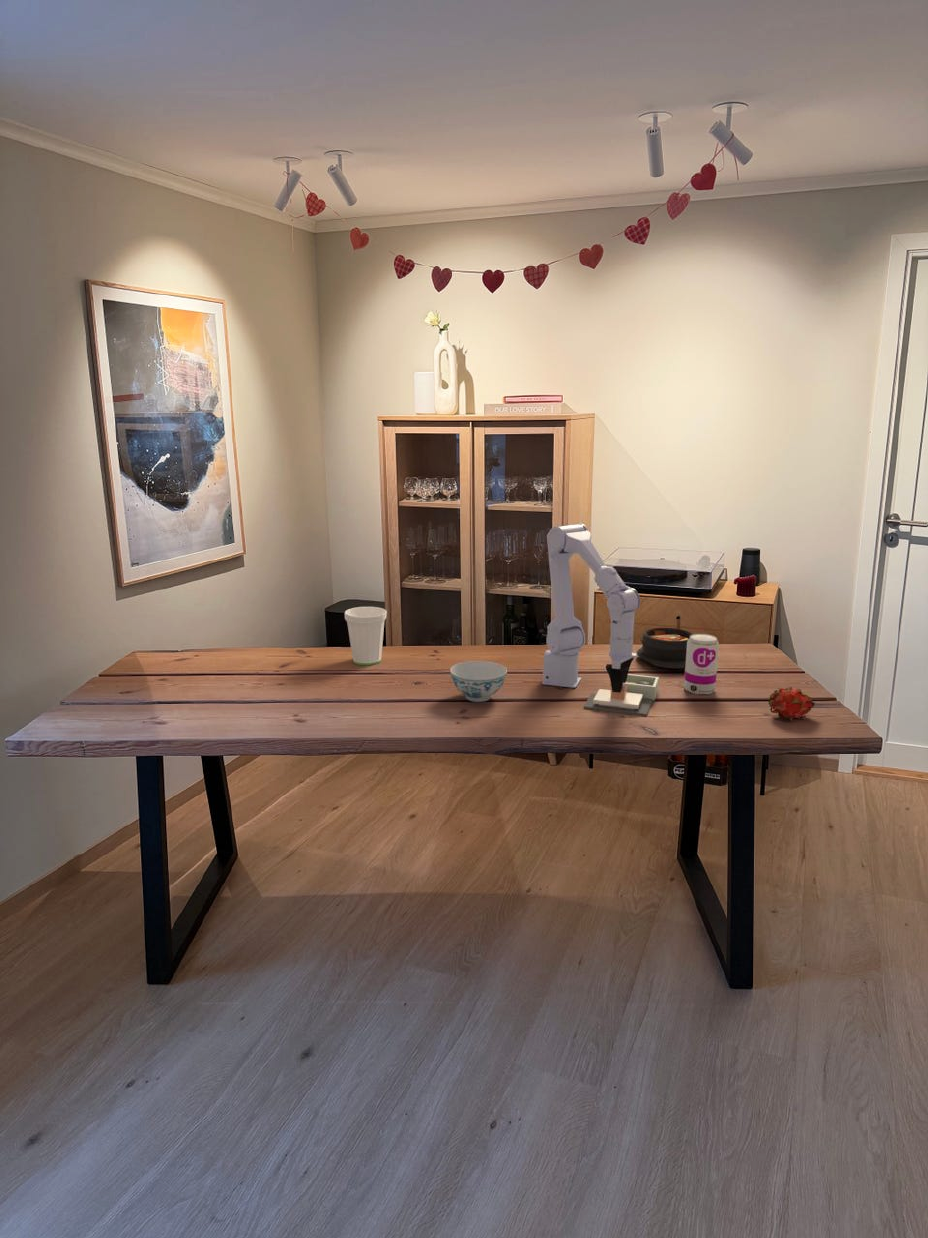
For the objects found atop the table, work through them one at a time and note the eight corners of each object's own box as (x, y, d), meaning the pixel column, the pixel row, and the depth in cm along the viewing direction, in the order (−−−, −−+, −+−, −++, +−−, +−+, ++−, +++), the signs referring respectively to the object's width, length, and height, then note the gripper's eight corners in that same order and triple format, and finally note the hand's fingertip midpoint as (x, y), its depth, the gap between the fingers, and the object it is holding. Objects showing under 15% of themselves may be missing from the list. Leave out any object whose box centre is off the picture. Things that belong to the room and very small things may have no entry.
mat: (583, 708, 221) (583, 706, 221) (591, 695, 230) (591, 693, 230) (646, 715, 216) (646, 714, 216) (651, 702, 225) (652, 700, 225)
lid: (593, 706, 221) (593, 690, 220) (599, 695, 229) (599, 680, 227) (637, 711, 217) (638, 695, 216) (642, 700, 225) (643, 685, 224)
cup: (352, 653, 265) (350, 605, 261) (392, 655, 263) (391, 607, 259) (341, 666, 253) (339, 616, 249) (382, 668, 251) (381, 618, 247)
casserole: (630, 647, 271) (631, 622, 269) (689, 648, 271) (691, 622, 268) (643, 674, 247) (645, 646, 245) (708, 674, 247) (711, 646, 244)
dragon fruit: (761, 721, 217) (807, 728, 217) (776, 713, 209) (824, 719, 209) (760, 689, 220) (806, 695, 220) (775, 680, 212) (822, 686, 213)
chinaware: (480, 712, 218) (481, 683, 216) (438, 697, 228) (438, 670, 226) (518, 696, 229) (518, 669, 227) (476, 683, 239) (476, 657, 237)
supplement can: (716, 696, 229) (720, 642, 225) (684, 694, 231) (688, 641, 227) (713, 686, 237) (718, 634, 233) (683, 684, 239) (686, 632, 235)
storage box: (612, 696, 229) (613, 682, 228) (617, 686, 237) (618, 672, 236) (654, 701, 226) (655, 686, 225) (658, 691, 233) (658, 677, 232)
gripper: (633, 646, 210) (630, 698, 214) (641, 630, 223) (638, 679, 227) (604, 643, 212) (602, 694, 216) (614, 627, 226) (612, 676, 229)
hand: (619, 687), depth 222 cm, fingers open, 7 cm apart
